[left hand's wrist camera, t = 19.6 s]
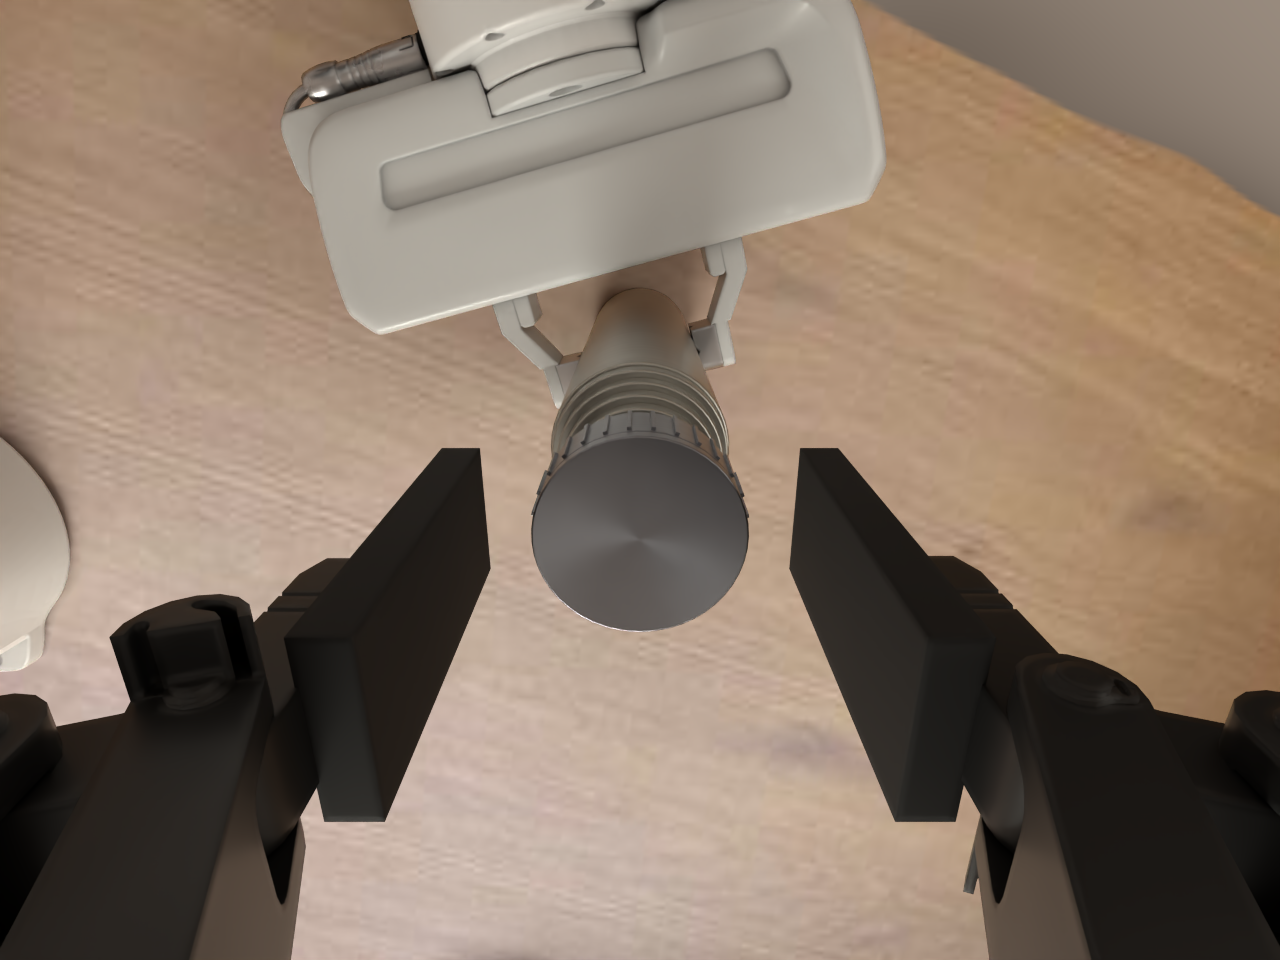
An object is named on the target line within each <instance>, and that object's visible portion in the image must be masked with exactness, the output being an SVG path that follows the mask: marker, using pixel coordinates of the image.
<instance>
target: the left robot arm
mask: <svg viewBox="0 0 1280 960" xmlns="http://www.w3.org/2000/svg"><path fill="white" fill-rule="evenodd" d="M490 569H491V568H490V557H489V546H488V534H487V523H486V512H485V501H484V490H483V479H482V467H481V456H480V448H442V449H441V450H440V451H439V452H438V454H437V455H436V456H435V457H434V458H433V459H432V461H431V462H430V463H429V464H428V465H427V467H426V468H425V469H424V470H423V471H422V473H421V474H420V475H419V476H418V477H417V479H416V480H415V481H414V482H413V483H412V485H411V486H410V487H409V488H408V489H407V491H406V492H405V493H404V494H403V495H402V497H401V498H400V499H399V500H398V501H397V503H396V504H395V505H394V506H393V507H392V508H391V510H390V511H389V512H388V513H387V514H386V516H385V517H384V518H383V519H382V520H381V522H380V523H379V524H378V525H377V526H376V528H375V529H374V530H373V531H372V532H371V534H370V535H369V536H368V537H367V538H366V540H365V541H364V542H363V543H362V544H361V546H360V547H359V548H358V549H357V550H356V552H355V553H354V554H353V555H352V556H351V558H327V559H325V560H323V561H321V562H320V563H318V564H316V565H314V566H313V567H311V568H309V569H307V570H306V571H304V572H302V573H300V574H299V575H298V576H297V577H296V578H295V579H294V580H293V581H292V583H291V584H290V585H289V586H288V587H287V588H286V589H285V590H284V591H283V592H282V596H278V597H277V598H276V600H275V601H274V602H273V603H272V604H271V605H270V606H269V607H268V611H267V612H263V613H262V614H261V616H260V617H259V618H258V619H257V620H256V621H255V622H253V618H252V614H251V609H250V605H249V604H248V603H247V602H245V601H244V600H242V599H241V598H239V597H235V596H229V595H223V594H214V595H199V596H193V597H188V598H184V599H179V600H175V601H171V602H168V603H165V604H163V605H160V606H157V607H155V608H152V609H149V610H147V611H144V612H143V613H141V614H139V615H137V616H136V617H134V618H132V619H130V620H129V621H127V622H125V623H124V624H122V625H121V626H120V627H119V628H118V629H117V630H116V631H115V632H114V633H113V634H112V635H111V636H110V640H111V643H112V646H113V649H114V652H115V655H116V658H117V661H118V665H119V668H120V671H121V674H122V677H123V680H124V683H125V686H126V689H127V692H128V695H129V698H130V701H131V702H130V704H129V706H128V707H127V709H126V711H125V713H122V714H118V715H113V716H108V717H103V718H98V719H93V720H88V721H83V722H78V723H72V724H67V725H62V726H57V727H56V725H55V722H54V720H53V717H52V714H51V712H50V709H49V707H48V704H47V702H45V701H44V700H42V699H41V698H39V697H38V696H36V695H28V694H15V693H14V694H8V695H1V696H0V960H291V954H292V947H293V939H294V932H295V924H296V916H297V909H298V901H299V894H300V886H301V879H302V871H303V864H304V856H305V848H306V845H305V838H304V831H303V827H302V823H301V819H300V816H301V814H302V813H303V811H304V809H305V807H306V805H307V804H308V802H309V800H310V798H311V797H312V795H313V793H314V791H315V789H316V788H317V791H318V795H319V800H320V804H321V809H322V813H323V817H324V822H385V820H386V818H387V815H388V813H389V810H390V808H391V806H392V803H393V801H394V798H395V796H396V794H397V791H398V789H399V786H400V784H401V782H402V779H403V777H404V775H405V772H406V770H407V767H408V765H409V763H410V760H411V758H412V755H413V753H414V751H415V748H416V746H417V743H418V741H419V739H420V736H421V734H422V731H423V729H424V727H425V724H426V722H427V720H428V717H429V715H430V712H431V710H432V708H433V705H434V703H435V700H436V698H437V696H438V693H439V691H440V688H441V686H442V684H443V681H444V679H445V676H446V674H447V672H448V669H449V667H450V665H451V662H452V660H453V657H454V655H455V653H456V650H457V648H458V645H459V643H460V641H461V638H462V636H463V633H464V631H465V629H466V626H467V624H468V621H469V619H470V617H471V614H472V612H473V610H474V607H475V605H476V602H477V600H478V598H479V595H480V593H481V590H482V588H483V586H484V583H485V581H486V578H487V576H488V574H489V571H490ZM789 569H790V571H791V574H792V576H793V578H794V581H795V583H796V586H797V588H798V590H799V593H800V595H801V598H802V600H803V602H804V605H805V607H806V610H807V612H808V614H809V617H810V619H811V621H812V624H813V626H814V629H815V631H816V633H817V636H818V638H819V641H820V643H821V645H822V648H823V650H824V653H825V655H826V657H827V660H828V662H829V665H830V667H831V669H832V672H833V674H834V676H835V679H836V681H837V684H838V686H839V688H840V691H841V693H842V696H843V698H844V700H845V703H846V705H847V708H848V710H849V712H850V715H851V717H852V720H853V722H854V724H855V727H856V729H857V731H858V734H859V736H860V739H861V741H862V743H863V746H864V748H865V751H866V753H867V755H868V758H869V760H870V763H871V765H872V767H873V770H874V772H875V775H876V777H877V779H878V782H879V784H880V786H881V789H882V791H883V794H884V796H885V798H886V801H887V803H888V806H889V808H890V810H891V813H892V815H893V818H894V820H895V822H956V817H957V813H958V809H959V804H960V800H961V795H962V791H963V786H965V788H966V789H967V791H968V793H969V795H970V796H971V798H972V800H973V802H974V804H975V805H976V807H977V809H978V811H979V812H980V819H979V823H978V827H977V831H976V835H975V840H974V844H973V848H972V852H971V856H970V860H969V865H968V869H967V873H966V878H965V884H964V891H963V892H967V893H971V894H974V890H975V886H976V882H977V879H978V878H979V884H980V892H981V899H982V907H983V915H984V922H985V930H986V937H987V945H988V952H989V960H1280V692H1275V691H1269V690H1263V691H1251V692H1245V693H1243V694H1242V695H1240V696H1239V697H1237V698H1236V699H1234V701H1233V704H1232V707H1231V709H1230V712H1229V714H1228V717H1227V720H1226V722H1225V724H1224V723H1219V722H1214V721H1209V720H1204V719H1199V718H1194V717H1188V716H1183V715H1178V714H1173V713H1168V712H1163V711H1159V710H1155V709H1154V708H1153V706H1152V704H1151V702H1150V700H1149V699H1148V698H1147V697H1146V696H1145V695H1144V693H1143V692H1142V691H1141V690H1140V689H1139V687H1138V686H1137V685H1135V684H1134V683H1132V682H1131V681H1130V680H1128V679H1127V678H1125V677H1124V676H1122V675H1121V674H1119V673H1118V672H1116V671H1114V670H1112V669H1109V668H1107V667H1105V666H1103V665H1100V664H1098V663H1096V662H1093V661H1090V660H1087V659H1083V658H1079V657H1075V656H1071V655H1067V654H1058V652H1057V651H1056V650H1055V649H1054V648H1053V647H1052V646H1051V645H1050V644H1049V643H1048V642H1047V641H1046V640H1045V639H1044V638H1043V637H1042V636H1041V635H1040V633H1039V632H1038V631H1037V630H1036V629H1035V628H1034V627H1033V626H1032V625H1031V624H1030V623H1029V622H1028V621H1027V620H1026V619H1025V618H1024V617H1023V615H1022V614H1021V613H1020V612H1019V611H1018V610H1017V609H1013V605H1012V604H1011V603H1010V602H1009V601H1008V600H1007V599H1006V598H1005V596H1004V595H1003V594H999V593H998V589H997V588H996V587H995V586H994V585H993V584H992V583H991V582H990V581H989V580H988V579H987V577H986V576H985V575H984V574H983V573H982V572H981V571H979V570H977V569H975V568H974V567H972V566H970V565H968V564H967V563H965V562H963V561H961V560H959V559H958V558H956V557H954V556H928V555H927V554H926V553H925V552H924V550H923V549H922V548H921V547H920V546H919V544H918V543H917V542H916V541H915V540H914V538H913V537H912V536H911V535H910V534H909V532H908V531H907V530H906V529H905V528H904V526H903V525H902V524H901V523H900V522H899V520H898V519H897V518H896V517H895V516H894V514H893V513H892V512H891V511H890V510H889V508H888V507H887V506H886V505H885V504H884V503H883V501H882V500H881V499H880V498H879V497H878V495H877V494H876V493H875V492H874V491H873V489H872V488H871V487H870V486H869V485H868V483H867V482H866V481H865V480H864V479H863V477H862V476H861V475H860V474H859V473H858V471H857V470H856V469H855V468H854V467H853V465H852V464H851V463H850V462H849V461H848V459H847V458H846V457H845V456H844V455H843V454H842V452H841V451H840V450H839V449H838V448H800V456H799V467H798V478H797V490H796V501H795V512H794V523H793V534H792V546H791V557H790V568H789Z"/></svg>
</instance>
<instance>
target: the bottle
mask: <svg viewBox="0 0 1280 960" xmlns="http://www.w3.org/2000/svg"><path fill="white" fill-rule="evenodd" d="M628 410H632V413H634V412H646V413H650V412H651V410H652V411H655V413H656V414H662V415H666V416H669V417H673V415H675V416H677V418H678V419H679V420H681V421H683V422H685V423H688V424H690V425H691V426H693V425H694V424H695V425H696V426H697V427H698V430H699V431H701V432H702V433H703V434H704V435H706V436H707V437H708V438H709V439H711V438H713V439H714V440H715V443H716V446H717V447H718V448H719V449H720V451H721V452H722V454H723V455H725V454H727V456H728V455H729V437H728V430H727V426H726V422H725V419H724V416H723V414H722V411H721V409H720V406H719V404H718V401H717V399H716V397H715V394H714V392H713V389H712V387H711V384H710V382H709V379H708V377H707V374H706V372H705V369H704V367H703V364H702V362H701V360H700V357H699V355H698V352H697V350H696V347H695V345H694V342H693V340H692V337H691V335H690V332H689V330H688V327H687V325H686V322H685V320H684V318H683V315H682V313H681V311H680V310H679V308H678V307H677V306H676V304H675V303H674V302H673V301H672V300H671V299H669V298H668V297H667V296H665V295H663V294H662V293H660V292H657V291H655V290H651V289H645V288H635V289H629V290H626V291H623V292H621V293H619V294H617V295H615V296H614V297H612V298H611V299H610V300H609V301H608V302H607V303H606V304H605V305H604V306H603V307H602V309H601V310H600V312H599V314H598V316H597V318H596V321H595V323H594V326H593V328H592V330H591V333H590V335H589V338H588V340H587V343H586V345H585V348H584V350H583V353H582V355H581V357H580V360H579V362H578V365H577V367H576V370H575V372H574V375H573V377H572V380H571V382H570V385H569V387H568V389H567V392H566V394H565V397H564V399H563V402H562V404H561V407H560V409H559V412H558V414H557V417H556V420H555V423H554V426H553V431H552V438H551V453H552V457H553V454H554V453H555V452H557V453H558V452H559V451H560V450H561V449H562V447H563V446H564V445H565V444H566V440H567V438H568V437H569V436H571V437H573V436H574V435H575V434H577V433H578V432H580V431H581V430H583V429H584V426H585V425H586V424H587V423H589V425H591V424H593V423H595V422H597V421H599V420H602V419H604V418H605V416H606V415H610V416H614V415H619V414H623V413H628Z"/></svg>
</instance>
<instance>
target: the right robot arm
mask: <svg viewBox="0 0 1280 960" xmlns="http://www.w3.org/2000/svg"><path fill="white" fill-rule="evenodd" d="M409 2H410V7H411V10H412V13H413V16H414V19H415V21H416V24H417V27H418V33H415V34H414V35H408V36H405V37H402V38H401V39H398V40H394V41H391V42H388V43H385V44H382V45H379V46H376V47H374V48H371V49H370V50H367V51H366V52H364V53H363V54H362V53H361V54H359V55H357V56H355V57H352V58H349V59H346V60H343V61H340V62H338V61H336V60H335V61H328V62H324V63H321V64H318V65H316V66H314V67H312V68H310V69H308V70H307V71H305V72H304V73H303V74H302V76H301V79H302V85H300V86H299V87H298V88H297V89H296V90H294V91H293V92H292V94H291V95H290V97H289V98H288V100H287V102H286V105H285V108H284V111H283V116H282V118H281V131H282V135H283V139H284V142H285V144H286V147H287V149H288V152H289V154H290V157H291V159H292V162H293V164H294V167H295V169H296V171H297V174H298V176H299V178H300V180H301V182H302V183H303V185H304V186H305V188H306V189H307V191H308V192H309V193H310V194H311V195H312V196H313V198H314V203H315V207H316V212H317V216H318V220H319V224H320V228H321V232H322V236H323V239H324V243H325V247H326V250H327V254H328V257H329V261H330V264H331V267H332V270H333V273H334V276H335V279H336V282H337V285H338V288H339V291H340V294H341V297H342V299H343V302H344V304H345V307H346V309H347V311H348V313H349V314H350V315H351V316H352V317H353V318H354V319H355V320H356V321H358V322H359V323H361V324H362V325H364V326H365V327H366V328H368V329H369V330H371V331H372V332H374V333H376V334H379V335H383V334H387V333H391V332H394V331H398V330H402V329H405V328H409V327H413V326H416V325H420V324H424V323H427V322H431V321H435V320H438V319H442V318H446V317H449V316H453V315H457V314H460V313H464V312H468V311H471V310H475V309H479V308H482V307H486V306H490V305H493V308H494V311H495V314H496V317H497V320H498V324H499V327H500V330H501V333H502V335H503V336H504V337H505V338H507V339H508V340H509V341H510V342H511V343H512V344H513V345H514V346H515V347H516V348H517V349H518V350H520V351H521V352H522V353H523V354H524V355H525V356H526V357H527V358H528V359H529V360H530V361H531V362H532V363H534V364H535V365H536V366H537V367H538V368H539V369H543V370H544V373H545V376H546V379H547V382H548V386H549V389H550V392H551V395H552V398H553V401H554V404H555V406H556V408H557V409H559V408H560V407H561V404H562V402H563V399H564V397H565V394H566V392H567V389H568V387H569V385H570V382H571V380H572V377H573V375H574V372H575V370H576V367H577V365H578V362H579V360H580V357H581V355H582V352H579V353H575V354H571V355H566V356H563V355H562V354H561V353H560V352H559V351H558V349H557V348H556V347H555V346H554V345H553V344H552V343H551V342H550V341H549V340H548V339H547V338H546V337H545V336H544V335H543V334H542V333H541V332H540V331H539V330H538V329H537V328H536V327H535V326H534V324H535V323H536V322H537V321H538V320H539V319H540V318H541V316H542V311H541V308H540V304H539V301H538V298H537V294H536V293H537V292H541V291H544V290H548V289H552V288H555V287H559V286H563V285H566V284H570V283H574V282H577V281H581V280H585V279H588V278H592V277H596V276H599V275H603V274H606V273H610V272H614V271H617V270H621V269H625V268H628V267H632V266H636V265H639V264H643V263H647V262H650V261H654V260H658V259H661V258H665V257H669V256H672V255H676V254H680V253H683V252H687V251H691V250H694V249H698V248H701V253H702V257H703V261H704V265H705V270H706V271H707V272H708V273H709V274H710V275H712V276H714V277H715V276H719V277H718V281H717V284H716V288H715V291H714V295H713V298H712V301H711V305H710V308H709V312H708V315H707V319H703V320H700V321H696V322H693V323H689V324H688V325H689V330H690V334H691V337H692V340H693V342H694V345H695V347H696V350H697V352H698V355H699V357H700V360H701V362H702V364H703V367H704V369H705V371H707V370H711V369H716V368H720V367H724V366H727V365H731V364H735V363H736V360H735V353H734V348H733V343H732V339H731V334H730V329H729V324H728V320H731V317H732V314H733V311H734V308H735V305H736V302H737V299H738V296H739V293H740V290H741V287H742V284H743V281H744V278H745V274H746V271H747V264H746V259H745V254H744V249H743V243H742V238H741V237H742V236H745V235H749V234H753V233H756V232H760V231H764V230H767V229H771V228H775V227H778V226H782V225H786V224H789V223H793V222H797V221H800V220H804V219H808V218H811V217H815V216H818V215H822V214H826V213H829V212H833V211H837V210H840V209H844V208H848V207H851V206H855V205H858V204H862V203H865V202H867V201H868V200H869V199H870V198H871V196H872V195H873V193H874V191H875V189H876V187H877V185H878V184H879V181H880V179H881V177H882V175H883V173H884V171H885V167H886V147H885V138H884V131H883V124H882V118H881V112H880V106H879V101H878V96H877V91H876V86H875V81H874V77H873V72H872V68H871V64H870V59H869V55H868V52H867V48H866V44H865V40H864V37H863V33H862V29H861V26H860V23H859V20H858V17H857V14H856V11H855V9H854V7H853V4H852V2H851V0H409ZM368 86H369V87H368ZM361 88H362V89H361ZM363 88H364V89H363ZM357 90H358V91H357ZM308 97H310V99H311V100H312V101H313V102H315V103H316V104H312V105H309V106H306V107H303V108H300V109H299V107H300V105H301V104H302V103H303V102H304V100H306V99H307V98H308ZM69 568H70V545H69V539H68V534H67V530H66V526H65V523H64V520H63V517H62V515H61V513H60V510H59V508H58V506H57V504H56V502H55V500H54V498H53V496H52V495H51V493H50V491H49V490H48V488H47V486H46V485H45V483H44V482H43V481H42V479H41V478H40V477H39V475H38V474H37V473H36V471H35V470H34V469H33V468H32V467H31V465H30V464H29V463H28V462H27V461H26V460H25V459H24V458H23V457H22V456H21V455H20V454H19V453H18V452H17V451H16V450H15V449H14V448H13V447H12V446H11V445H10V444H8V443H7V442H6V441H5V440H4V439H2V438H1V437H0V672H5V671H17V670H21V669H23V668H25V667H27V666H28V665H30V664H32V663H33V662H35V661H37V660H38V659H39V658H40V657H41V656H42V653H43V650H44V642H45V621H46V618H47V616H48V614H49V612H50V610H51V609H52V607H53V606H54V605H55V603H56V602H57V600H58V599H59V597H60V595H61V593H62V592H63V589H64V587H65V585H66V581H67V578H68V574H69Z"/></svg>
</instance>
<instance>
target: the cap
mask: <svg viewBox="0 0 1280 960" xmlns="http://www.w3.org/2000/svg"><path fill="white" fill-rule="evenodd" d="M537 495H538V496H537V499H536V502H535V504H534V507H533V510H532V514H531V515H533V520H532V528H531V536H532V547H533V553H534V557H535V560H536V563H537V566H538V568H539V570H540V573H541V575H542V577H543V579H544V580H545V582H546V583H547V585H548V586H549V588H550V589H551V590H552V592H553V593H554V594H555V595H556V596H557V597H558V598H559V599H560V600H561V601H562V602H563V603H564V604H565V605H566V606H567V607H569V608H570V609H571V610H573V611H574V612H576V613H577V614H579V615H580V616H582V617H584V618H586V619H588V620H590V621H592V622H594V623H597V624H599V625H602V626H605V627H609V628H613V629H617V630H624V631H634V632H646V631H657V630H663V629H668V628H672V627H675V626H678V625H681V624H684V623H686V622H688V621H690V620H693V619H695V618H696V617H698V616H700V615H701V614H703V613H705V612H706V611H707V610H709V609H710V608H711V607H713V606H714V605H715V604H716V603H717V602H718V601H719V600H720V599H721V598H722V597H723V596H724V595H725V594H726V593H727V592H728V590H729V589H730V588H731V586H732V585H733V584H734V582H735V580H736V578H737V577H738V575H739V573H740V571H741V568H742V566H743V564H744V561H745V557H746V553H747V549H748V540H749V528H748V519H747V518H749V514H748V511H747V508H746V505H745V503H744V500H743V497H744V493H743V491H742V488H741V485H740V482H739V480H738V477H737V474H736V472H735V473H734V472H733V469H732V466H731V464H730V461H729V458H728V456H727V454H725V455H723V454H722V452H721V451H720V449H719V448H718V447H717V446H716V443H715V440H714V439H713V438H711V439H709V438H708V437H707V436H706V435H704V434H703V433H702V432H701V431H699V430H698V427H697V426H696V425H695V424H694V425H693V426H691V425H690V424H688V423H685V422H683V421H681V420H679V419H678V418H677V416H675V415H673V417H669V416H666V415H662V414H656V413H655V411H652V410H651V412H650V413H646V412H634V413H632V410H628V413H623V414H619V415H614V416H610V415H606V416H605V418H604V419H602V420H599V421H597V422H595V423H593V424H591V425H589V423H587V424H586V425H585V426H584V429H583V430H581V431H580V432H578V433H577V434H575V435H574V436H573V437H571V436H569V437H568V438H567V440H566V444H565V445H564V446H563V447H562V449H561V450H560V451H559V452H558V453H557V452H555V453H554V454H553V457H552V460H551V463H550V466H549V468H548V471H546V470H545V472H544V475H543V477H542V480H541V483H540V485H539V488H538V491H537Z"/></svg>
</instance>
